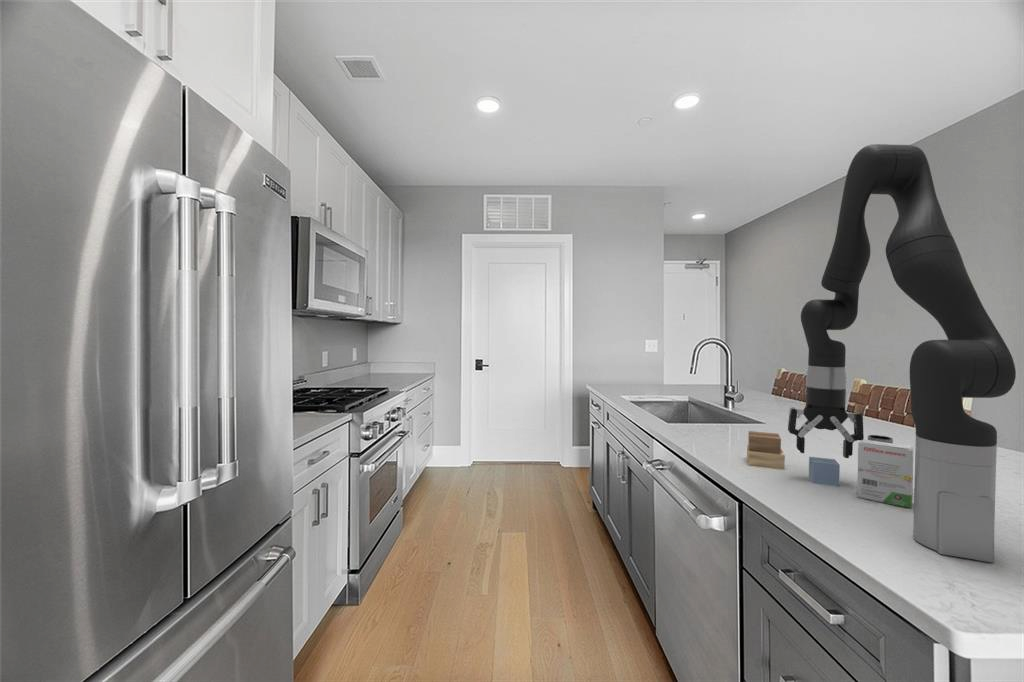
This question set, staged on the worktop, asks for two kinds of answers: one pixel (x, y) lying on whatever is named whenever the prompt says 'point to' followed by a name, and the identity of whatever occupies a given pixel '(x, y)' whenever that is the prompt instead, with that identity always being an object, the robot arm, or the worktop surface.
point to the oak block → (766, 459)
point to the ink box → (885, 472)
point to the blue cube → (824, 471)
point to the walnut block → (764, 442)
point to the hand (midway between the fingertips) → (823, 454)
